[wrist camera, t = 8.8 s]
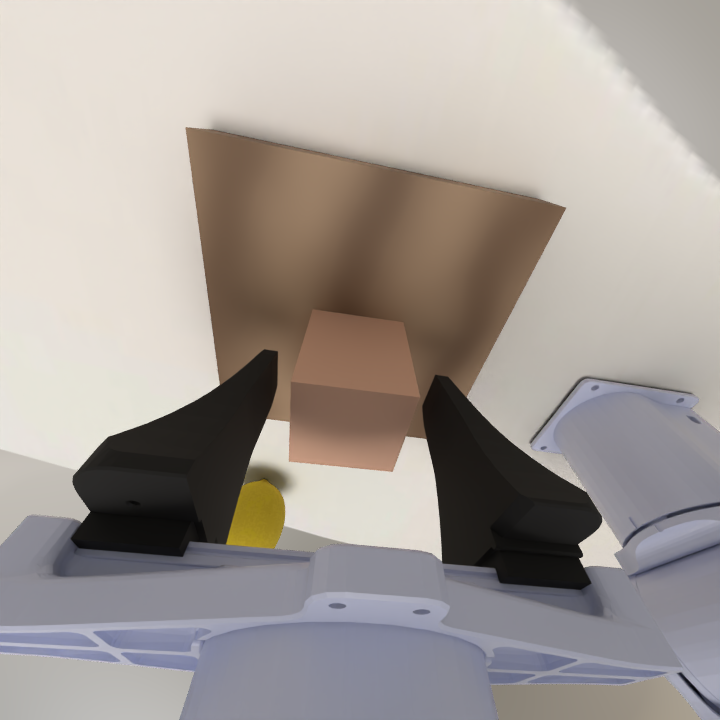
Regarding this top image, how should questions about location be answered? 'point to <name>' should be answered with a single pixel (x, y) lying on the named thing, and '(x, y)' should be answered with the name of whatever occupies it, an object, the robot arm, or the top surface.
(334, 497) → the top surface
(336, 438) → the cube
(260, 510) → the lemon
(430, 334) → the walnut block
